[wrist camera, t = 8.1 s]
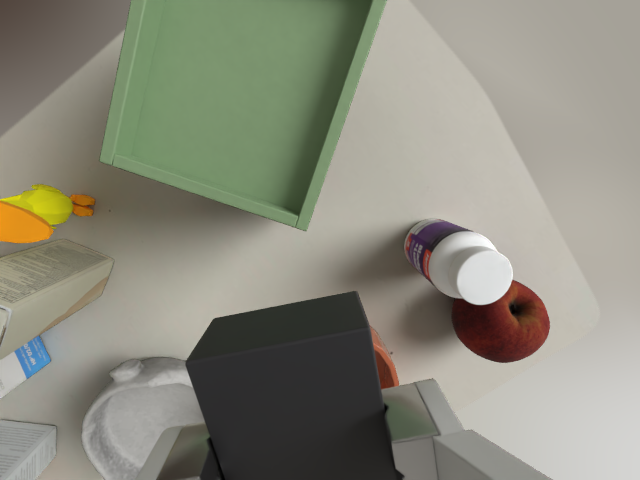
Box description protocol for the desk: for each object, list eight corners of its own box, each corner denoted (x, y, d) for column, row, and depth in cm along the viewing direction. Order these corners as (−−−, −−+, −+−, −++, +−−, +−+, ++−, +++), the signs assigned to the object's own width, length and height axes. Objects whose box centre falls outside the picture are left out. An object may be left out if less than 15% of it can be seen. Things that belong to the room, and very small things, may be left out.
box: (50, 276, 30) (-98, 336, 19) (62, 236, 29) (-84, 276, 18) (104, 297, 30) (-8, 368, 19) (118, 259, 29) (9, 311, 19)
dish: (121, 336, 31) (87, 366, 26) (255, 368, 33) (246, 403, 28) (99, 450, 34) (65, 497, 29) (223, 475, 36) (210, 523, 31)
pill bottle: (393, 236, 30) (433, 266, 21) (442, 207, 30) (505, 224, 20) (417, 280, 31) (466, 328, 22) (465, 253, 31) (535, 290, 21)
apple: (522, 277, 32) (592, 311, 24) (491, 342, 33) (548, 395, 25) (457, 257, 31) (508, 286, 23) (428, 324, 32) (467, 373, 25)
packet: (213, 317, 8) (183, 363, 6) (357, 289, 8) (370, 327, 6) (264, 486, 10) (253, 565, 8) (388, 463, 10) (408, 538, 8)
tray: (237, 23, 26) (158, -145, 12) (351, 70, 27) (399, -35, 13) (199, 165, 28) (98, 161, 14) (306, 203, 29) (306, 231, 15)
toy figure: (125, 196, 28) (-3, 215, 17) (119, 233, 29) (-7, 276, 17) (48, 176, 28) (-143, 180, 16) (44, 214, 28) (-141, 245, 17)
